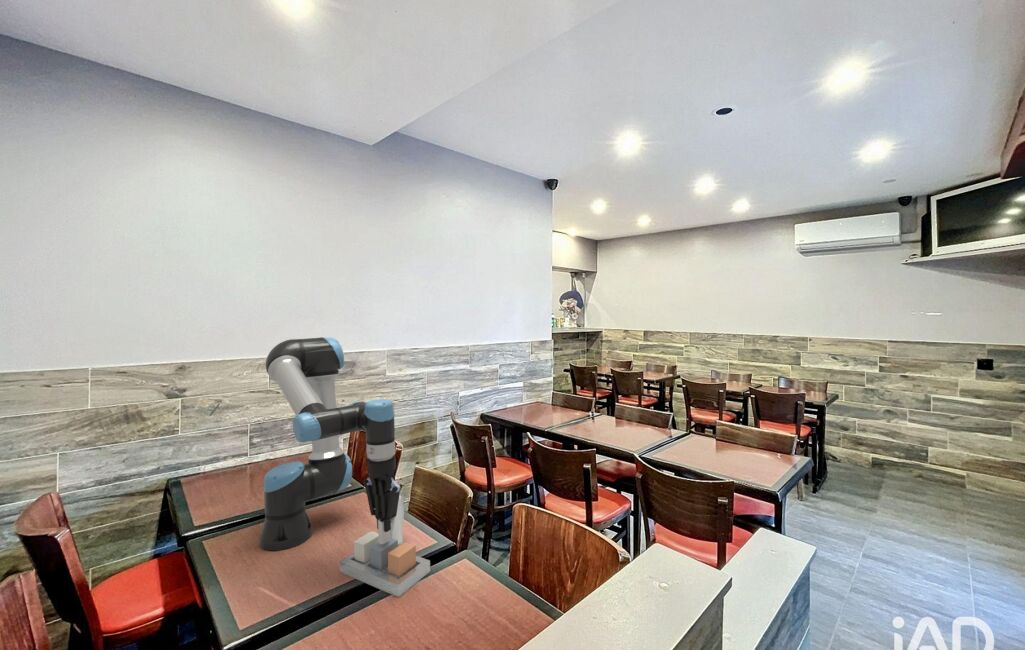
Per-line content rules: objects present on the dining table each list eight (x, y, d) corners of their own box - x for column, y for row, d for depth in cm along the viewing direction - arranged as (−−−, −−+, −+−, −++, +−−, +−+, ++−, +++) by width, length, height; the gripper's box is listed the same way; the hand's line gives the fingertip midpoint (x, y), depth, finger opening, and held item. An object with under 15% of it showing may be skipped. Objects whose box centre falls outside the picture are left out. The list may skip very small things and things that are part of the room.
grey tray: (340, 575, 118) (340, 561, 118) (374, 553, 128) (374, 540, 128) (398, 600, 107) (397, 585, 107) (430, 574, 117) (429, 560, 117)
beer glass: (399, 551, 129) (397, 503, 129) (377, 549, 130) (376, 501, 130) (409, 539, 136) (407, 493, 135) (388, 538, 137) (387, 492, 137)
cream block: (354, 558, 119) (353, 541, 119) (372, 548, 125) (371, 531, 124) (364, 562, 117) (363, 545, 117) (381, 551, 123) (381, 534, 122)
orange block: (388, 571, 113) (387, 553, 112) (405, 559, 118) (404, 542, 118) (399, 576, 111) (398, 557, 110) (416, 563, 116) (415, 545, 116)
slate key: (371, 565, 116) (370, 547, 116) (388, 554, 121) (387, 536, 121) (381, 569, 114) (380, 551, 114) (398, 557, 119) (397, 540, 119)
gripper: (353, 457, 117) (357, 542, 117) (388, 464, 110) (391, 554, 111) (375, 449, 123) (378, 530, 124) (408, 456, 117) (411, 541, 117)
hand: (384, 541), depth 117 cm, fingers closed
